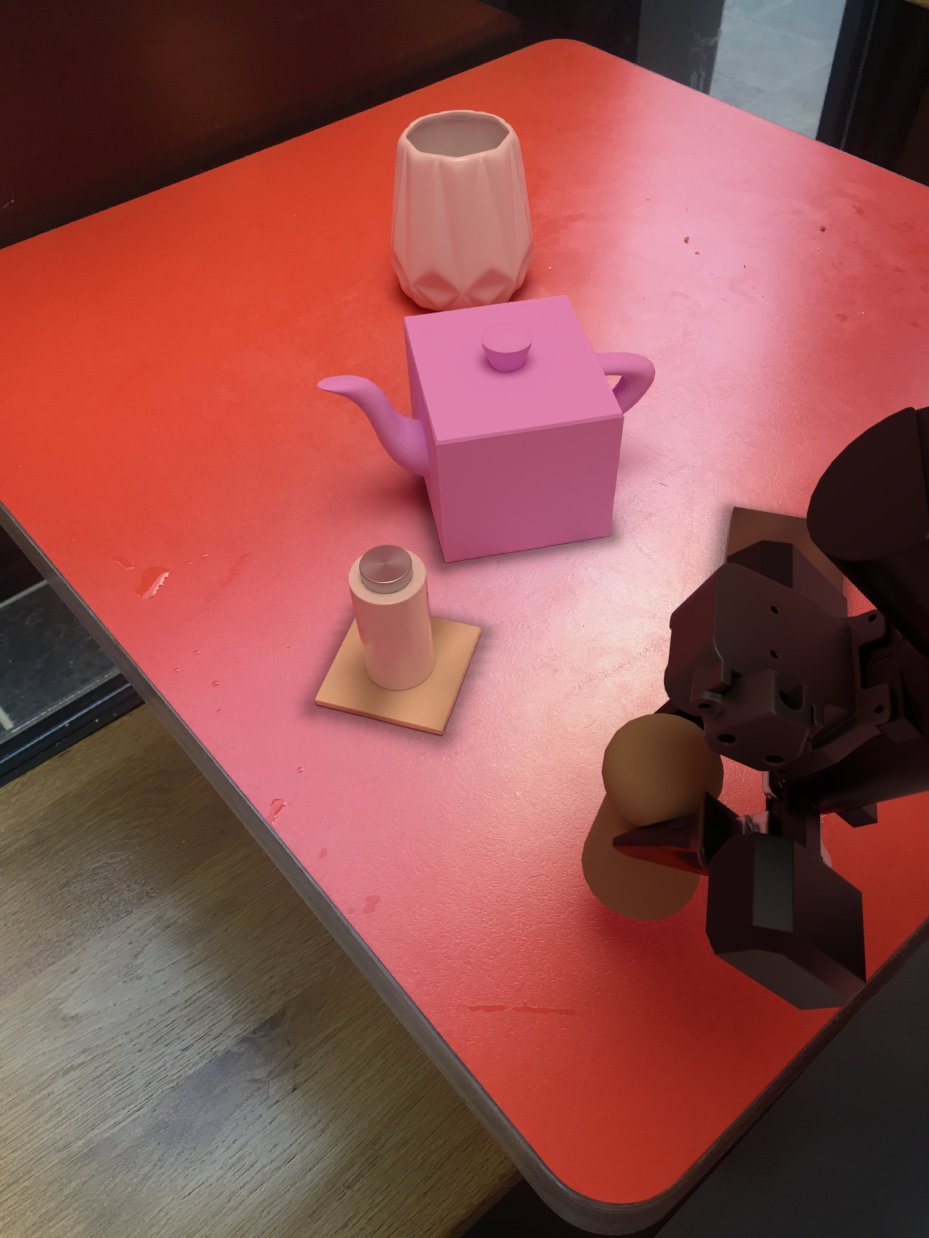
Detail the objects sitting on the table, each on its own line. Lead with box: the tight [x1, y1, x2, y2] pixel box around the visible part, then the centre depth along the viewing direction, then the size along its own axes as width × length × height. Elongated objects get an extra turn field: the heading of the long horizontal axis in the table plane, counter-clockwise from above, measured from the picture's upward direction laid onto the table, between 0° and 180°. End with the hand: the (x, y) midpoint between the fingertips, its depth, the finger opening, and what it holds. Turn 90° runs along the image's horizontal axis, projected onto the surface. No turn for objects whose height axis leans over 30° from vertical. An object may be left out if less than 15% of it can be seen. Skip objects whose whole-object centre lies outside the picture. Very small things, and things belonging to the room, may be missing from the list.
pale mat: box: [314, 615, 482, 736], centre depth 64 cm, size 9×9×1 cm
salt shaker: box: [347, 544, 435, 690], centre depth 60 cm, size 5×5×10 cm
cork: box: [580, 713, 725, 922], centre depth 43 cm, size 6×6×11 cm
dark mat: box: [723, 506, 845, 595], centre depth 69 cm, size 8×8×1 cm
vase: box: [390, 109, 535, 312], centre depth 89 cm, size 14×14×15 cm
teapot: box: [316, 294, 656, 564], centre depth 70 cm, size 15×25×14 cm, turn 101°
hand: (624, 794), depth 43 cm, fingers closed on cork, 5 cm apart
